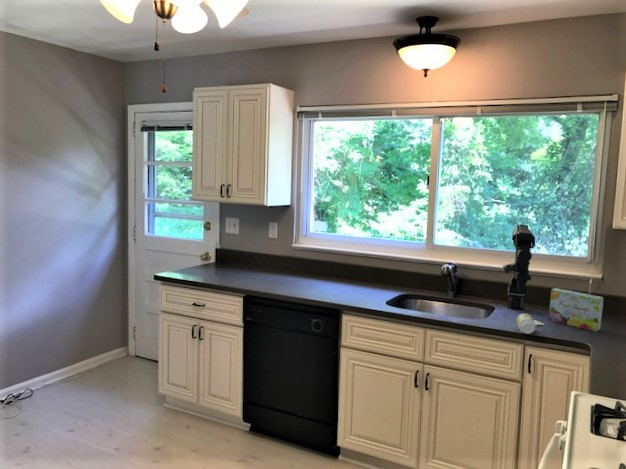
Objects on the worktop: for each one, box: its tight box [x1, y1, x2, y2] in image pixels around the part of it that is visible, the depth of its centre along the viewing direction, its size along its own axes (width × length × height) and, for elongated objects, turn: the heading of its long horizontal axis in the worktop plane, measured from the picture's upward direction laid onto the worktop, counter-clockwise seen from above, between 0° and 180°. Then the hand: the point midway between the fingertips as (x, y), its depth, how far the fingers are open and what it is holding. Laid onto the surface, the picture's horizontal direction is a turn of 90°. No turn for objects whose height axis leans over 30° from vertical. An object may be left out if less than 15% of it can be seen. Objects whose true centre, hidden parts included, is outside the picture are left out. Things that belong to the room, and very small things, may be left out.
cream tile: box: [533, 319, 546, 327], centre depth 245 cm, size 6×6×1 cm
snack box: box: [548, 287, 604, 333], centre depth 245 cm, size 21×6×15 cm, turn 45°
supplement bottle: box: [516, 313, 536, 335], centre depth 232 cm, size 7×7×13 cm
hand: (519, 291), depth 255 cm, fingers closed
